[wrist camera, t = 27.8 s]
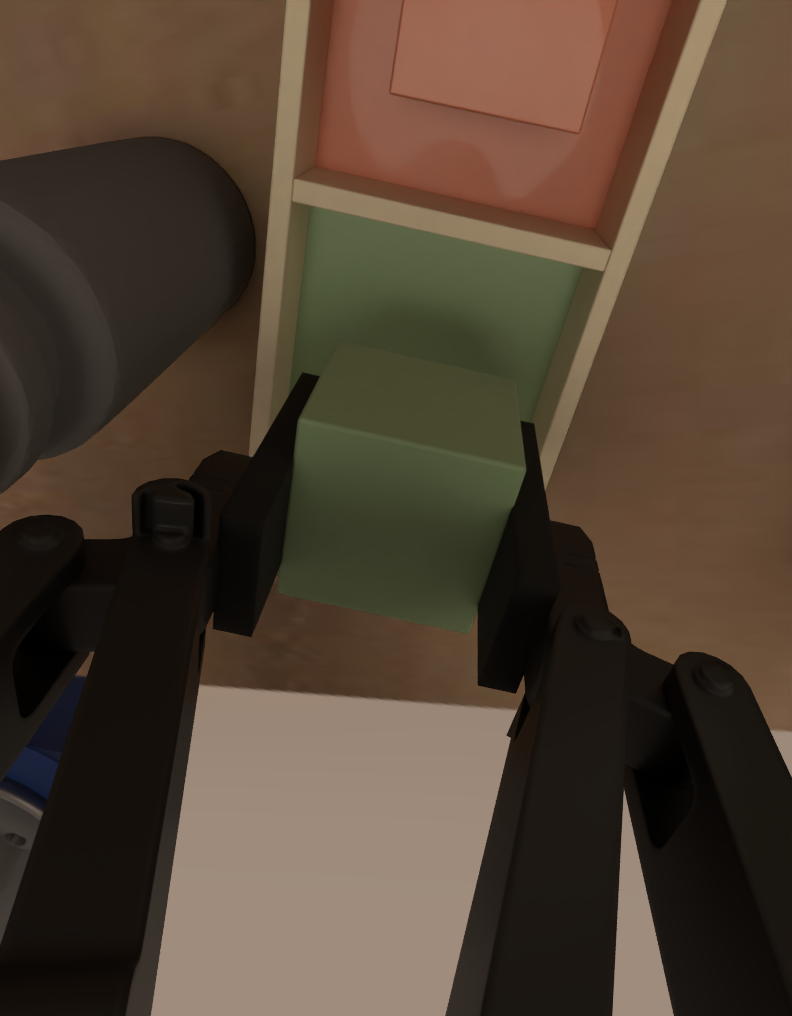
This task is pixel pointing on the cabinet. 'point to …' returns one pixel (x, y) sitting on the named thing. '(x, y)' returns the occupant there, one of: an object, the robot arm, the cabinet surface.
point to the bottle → (106, 282)
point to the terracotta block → (503, 57)
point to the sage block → (401, 487)
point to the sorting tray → (460, 209)
